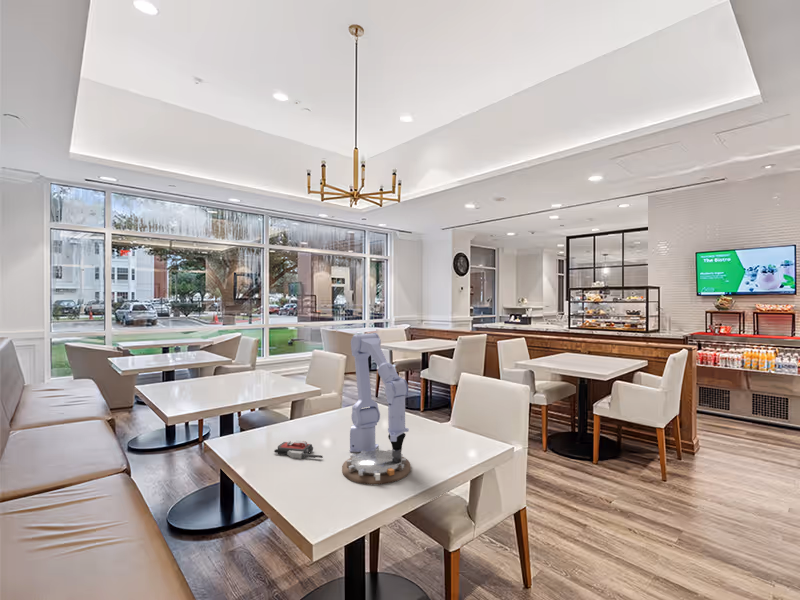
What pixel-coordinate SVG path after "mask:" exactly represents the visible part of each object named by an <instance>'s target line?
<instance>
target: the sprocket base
mask: <svg viewBox="0 0 800 600" xmlns="http://www.w3.org/2000/svg"><path fill="white" fill-rule="evenodd" d="M403 458H405V457H404V456H403ZM347 460H350V458H348V459H346V460H345V461H344V462H343V463H342V465H341V472H342V475H343V476H344V477H345V478H346V479H347V480H349V481H351V482H353V483H356V484H363V485H371V484H372V486H375V485H374V484H378V485H385V484H386V485H387V484H391V483H395V481H396V482H398V481H400V480H402V479H405V478H406V477H407V476H409V474H410V473H411V471H412V470H411V469H412V468H411V462H410V461H409V459H407V458H406V465H404V470H402V471H400V470H397V471H395V472H394V475H391V476H390V475H388V474H385V475H380V473H375V478H374V475H364V476H363V477H362V476H358V472H356V471H354V472H350V471H349V466H347Z"/></svg>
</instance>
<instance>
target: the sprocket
mask: <svg viewBox="0 0 800 600" xmlns="http://www.w3.org/2000/svg"><path fill="white" fill-rule="evenodd" d="M349 456H350V460H348V459H346V460H347V466H349V471H350V472H354V471H356V472H358V476H362V477H363V476H364V475H374V478H375V473H380V475H385V474H388V475H390V476H391V475H394V472H395V471H397V470H400V471H402V470H404V465H406V459H407V458H406V457H404V456H403V454H402V450H401V449H400V448H393V449H387V450H380V449H379V448H376V449H374V451H365V450H363V451H361V452H359V453H357V454H354V453H352V454H351V455H349ZM403 457H404V458H403Z"/></svg>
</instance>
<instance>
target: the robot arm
mask: <svg viewBox="0 0 800 600" xmlns="http://www.w3.org/2000/svg"><path fill="white" fill-rule="evenodd" d="M381 340H382V339H380V336H379V334H378V333H377V332H374V333H360V334H357V333H355V334H353V335H352V337H351V339H350V350H351V356H352V357H354V364H355V365H354V366H355V378H356V388H357V398H358V399H357V401H356V402H355V403H354V404H353V405H352V408H351V422H352V425H351V427H350V431H349V452H351V453H352V452H353V453H361V451H363V450H365V451H374V449H378V447H379V444H378V443H376V426H377V425H378V423H379V422H380V419H381V412H380V410H379V405H378V402H377V401H375V400H374V399H372V392H371V391H372V390H371V389H372V388H371V387H372V386H371V378H370V368H369V357H371V358H372V360H373V361H374V362H375V364H376V366H377V367H378V368H377V374H378V376H379V377H380V378H381V381H382V382H383V384H384V387H385V388H384V394H385V396H386V402H387V404H388V405H387V406H388V407H387V411H388V428H387V432H388V437H387V438H388V440H389V442H390V443H391V447H392V449H393V448H400V449H401V451H402V450H403V448H402V447H403V443H404V440H405V439H406V435H407V433H408V432H409V431H410V430H409V429H410V428H409V427H406V396H407V395H408V393H409V385H408V382H407V380H406V379H405V378H402V377H401V376H399V374H398V372H397V370H396V369H395V367H394V366H393V364H392V363H391V362H388V361H387V358H386V356H385V354H384V352H383V350H382V348H381V345H382V342H381ZM392 449H391V450H392Z"/></svg>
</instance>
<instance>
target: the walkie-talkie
mask: <svg viewBox="0 0 800 600" xmlns="http://www.w3.org/2000/svg"><path fill="white" fill-rule="evenodd" d="M313 451H314V447H313V444H311V443H308V442H307V441H305V440H296V441H294V442H292V441H291V440H289V441H288V442H287V441H283V442H282V443H280V444H279V445H278V446H277V449H276V448H275V449H274V451H273V452H274V454H275V453H276V454H277V455H281V454H286V455H285V456H288V457H289V456H290V459H292V458H293V459H300V460H301V459H303V458H310V459H311V458H312V459H316V458H321V459H322V458H324V456H323V455H319V454H310V453H313ZM309 452H310V453H309ZM308 453H309V454H308ZM302 457H303V458H302Z"/></svg>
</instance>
